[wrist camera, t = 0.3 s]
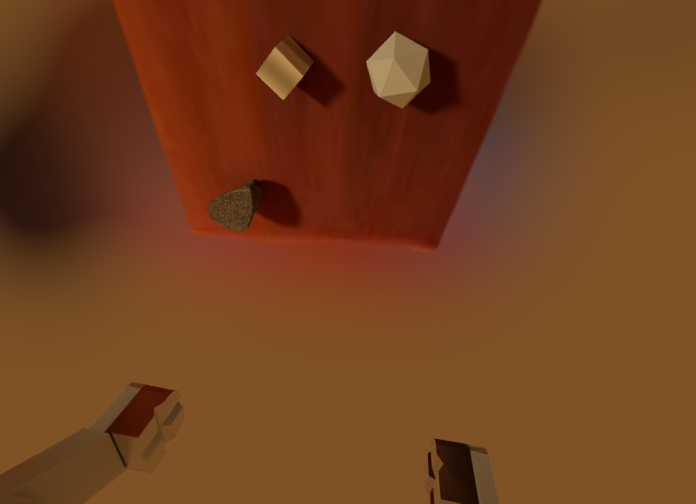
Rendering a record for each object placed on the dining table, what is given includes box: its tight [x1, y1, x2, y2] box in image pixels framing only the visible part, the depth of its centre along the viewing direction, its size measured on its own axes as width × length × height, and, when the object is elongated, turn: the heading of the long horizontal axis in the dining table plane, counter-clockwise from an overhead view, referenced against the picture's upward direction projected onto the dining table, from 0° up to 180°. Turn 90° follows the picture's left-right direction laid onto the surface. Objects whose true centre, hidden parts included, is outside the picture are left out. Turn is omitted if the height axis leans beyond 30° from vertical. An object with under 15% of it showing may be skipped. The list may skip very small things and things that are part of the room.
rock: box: [207, 180, 262, 231], centre depth 69 cm, size 12×10×10 cm
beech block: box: [256, 34, 314, 100], centre depth 49 cm, size 5×5×6 cm
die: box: [366, 32, 430, 109], centre depth 46 cm, size 8×9×10 cm
